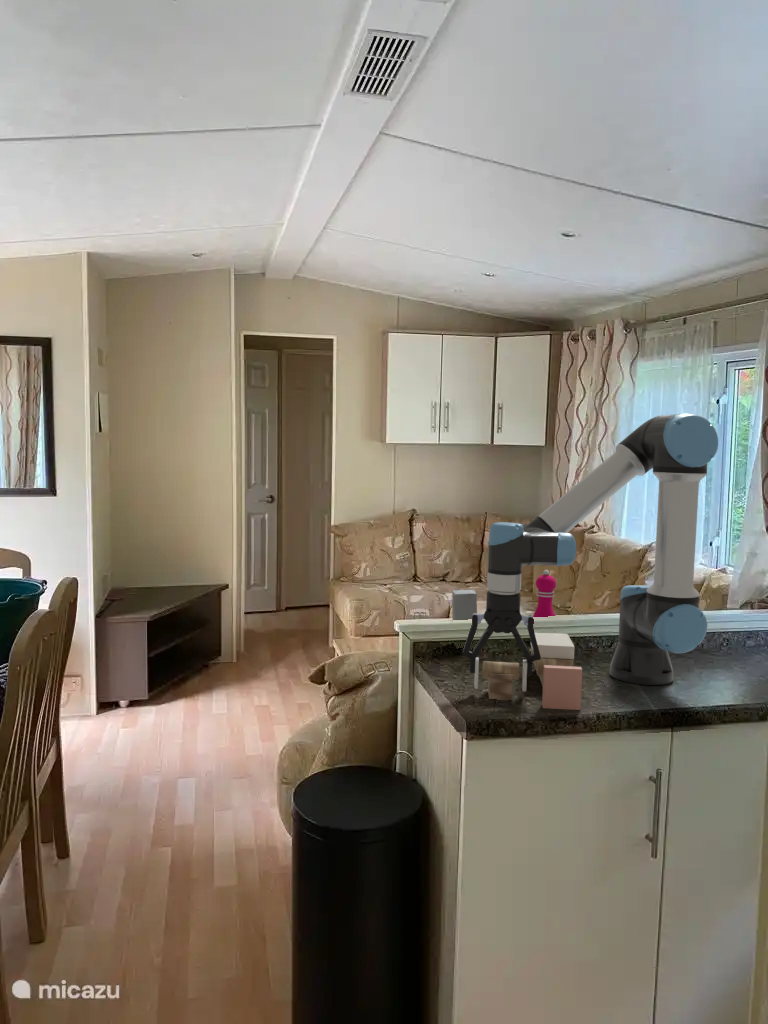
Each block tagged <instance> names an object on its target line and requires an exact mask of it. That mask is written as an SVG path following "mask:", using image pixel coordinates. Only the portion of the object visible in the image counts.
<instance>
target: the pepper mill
mask: <svg viewBox="0 0 768 1024" xmlns="http://www.w3.org/2000/svg"><path fill="white" fill-rule="evenodd" d="M542 573H543V574H542V575H539V576H538V577H537V578H536V580H535V586H536V588H537V589H538V590H536V592H537V593H536V596H537V599H538V601H537V607H536V609H535V611H534V612H533V615H532V616H533V617H548V616H556V613H555V611H554V607H553V597H555V595H554V594H555V591H554V590H555V589H556V587H557V581H556V578H555V577H554V576H552V575H550V571H549V570H548V569H544V570H543V571H542ZM556 617H557V616H556Z"/></svg>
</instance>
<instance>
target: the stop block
mask: <svg viewBox="0 0 768 1024" xmlns="http://www.w3.org/2000/svg"><path fill="white" fill-rule="evenodd" d="M582 681H583V668H582V666H573V667H572V666H552V665H544V671H543V686H542V698H541V707H542V708H543V709H551V710H552V709H553V710H554V709H555V710H556V709H557V710H569V711H571V710H572V711H581V704H582V702H581V701H582V686H583V684H582Z"/></svg>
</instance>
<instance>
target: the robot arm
mask: <svg viewBox="0 0 768 1024" xmlns="http://www.w3.org/2000/svg"><path fill="white" fill-rule="evenodd" d="M718 448H719V437H718V433H717V431H716V428H715V427H714V425H713V424H712V423H711V422H710V421H709V420H708V419H707V418H705V417H704V416H702V415H698V414H692V413H677V414H669V415H668V414H664V415H663V414H661V415H657V416H654V417H651V418H650V419H648V420H646V421H645V422H643V423H642V424H641V425H640V426H638V427H637V428H635V429H634V431H632V432H630V434H629V435H627V436H626V437H625V438H624V439H623V440H621V441H620V442H619V443H618V444H617V445H616V446H615V452H614V453H612V454H611V455H610V456H609V457H607V458H606V459H604V461H602V462H601V464H599V465H598V466H596V468H594V469H593V470H592V471H590V472H589V473H588V474H587V475H586V476H585V477H583V478H582V479H581V480H580V481H578V482H577V483H576V484H575V485H574V486H572V487H571V488H570V489H569V490H568V491H566V492H565V493H564V494H563V495H561V497H559V498H557V499H556V500H555V502H553V503H552V504H551V505H550V506H548V507H547V508H546V509H545V510H543V511H542V512H541V513H540V514H539V515H538V516H536V517H535V518H534V519H532V520H531V521H530V522H529V523H526V524H521V523H519V522H506V521H505V522H504V521H500V522H494V523H492V524H491V525H490V528H489V533H488V534H489V535H488V542H487V545H488V549H487V550H488V554H487V555H488V558H487V564H488V565H487V578H486V579H487V580H486V589H487V590H488V591H487V592H486V604H485V605H486V606H485V611H484V612H483V613H478V612H477V613H473V614H472V625H471V628H470V631H469V634H468V637H467V639H466V642H465V645H464V648H463V649H462V656H463V657H467V658H468V659H469V673H470V674H474V681H473V683H474V684H473V685H474V689H475V690H478V689H479V665H480V664H479V663H480V658H479V657H478V656H479V654H480V652H481V651H482V649H483V647H485V645H486V644H487V642H488V640H489V639H490V637H491V636H492V635H493V633H496V634H502V633H504V634H510V633H511V634H512V636H513V637H514V639H515V641H516V643H517V645H518V646H519V648H520V650H521V653H522V654H523V656H524V658H525V659H522V676H521V689H522V692H527V678H528V677H531V676H532V675H533V661H535V660H540V659H541V656H540V652H539V648H538V645H537V641H536V637H535V633H534V625H533V624H534V619H533V615H531V614H530V615H522V614H521V593H520V591H521V589H522V570H523V569H522V568H523V566H546V567H547V566H548V567H549V566H551V567H553V566H554V567H557V568H558V567H560V566H561V567H562V566H563V567H564V566H570V565H572V564H573V563H574V562H575V559H576V556H577V541H576V539H575V537H574V535H573V534H572V533H570V532H569V531H571V530H572V529H573V528H574V527H576V526H577V525H578V524H579V523H581V522H582V521H583V520H584V519H585V518H587V517H588V516H589V515H590V514H592V512H594V511H595V510H596V509H598V508H599V507H600V506H601V505H602V504H604V503H605V502H606V501H607V500H608V499H610V498H611V497H612V496H613V495H615V494H616V493H617V492H618V491H619V490H621V489H622V488H623V487H624V486H625V485H627V484H628V483H629V482H631V481H632V480H633V479H634V478H635V477H636V476H644V475H645V474H646V473H648V472H649V471H651V470H652V474H653V475H654V476H655V477H656V479H658V494H657V495H658V500H657V515H656V516H657V517H656V532H655V533H656V534H655V535H656V538H655V552H654V553H655V556H654V573H653V574H654V575H653V583H652V585H650V584H649V585H647V584H646V585H643V584H642V585H640V584H639V585H635V584H633V585H632V584H630V585H625V586H623V587H622V588H621V592H620V598H619V621H618V622H619V623H618V640H617V641H618V643H617V647H616V649H615V651H614V654H613V657H612V658H611V661H610V663H609V675H610V676H611V677H612V678H614V679H616V680H619V681H622V682H626V683H630V684H637V685H645V686H648V685H649V686H661V685H668V684H671V683H672V682H673V681H674V669H673V665H672V661H671V658H670V654H669V652H670V653H674V654H685V653H688V652H691V651H693V650H695V649H696V648H697V647H698V646H699V645H700V644H701V643H702V642H703V640H704V639H705V637H706V635H707V631H708V620H707V617H706V616H705V614H704V612H703V611H702V610H701V609H700V597H701V595H700V592H699V591H698V590H697V589H696V588H695V586H694V576H695V575H694V574H695V557H696V541H697V540H696V539H697V525H698V523H697V522H698V510H699V509H698V505H699V491H700V490H699V489H700V482H701V480H702V479H703V478H705V477H706V476H707V475H708V464H709V462H711V460H712V459H713V458H714V457H715V456H716V453H717V452H718ZM483 620H484V621H485V622H486V624H487V627H486V629H485V630H484V632H483V634H482V635H481V637H480V638H479V640H478V643H477V644H476V646H475V647H474V649H473V650H472V649H470V647H471V644H472V641H473V638H474V635H475V633H476V630H477V631H478V626H479V624H481V623H482V621H483ZM521 622H523V624H524V626H526V628H527V632H528V635H529V639H530V645H531V644H532V648H533V652H534V654H531V652H530V651H529V649H528V647H527V645H526V643H525V642H524V640H523V637H522V636H521V635H520V633H519V630H518V629H517V626H519V625H520V623H521Z"/></svg>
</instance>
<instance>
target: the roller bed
mask: <svg viewBox="0 0 768 1024" xmlns="http://www.w3.org/2000/svg"><path fill="white" fill-rule="evenodd" d="M530 646H531V645H530ZM530 648H531V649H530V654H534V652H533V649H532V646H531V647H530ZM532 665H534V669H535V670H536V676H538V677H539V679H540V682H541V686H542V687H543V671H544V665H552V666H572V667H574V659H559V658H541V659H540V660H535V661H533V663H532Z"/></svg>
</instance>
